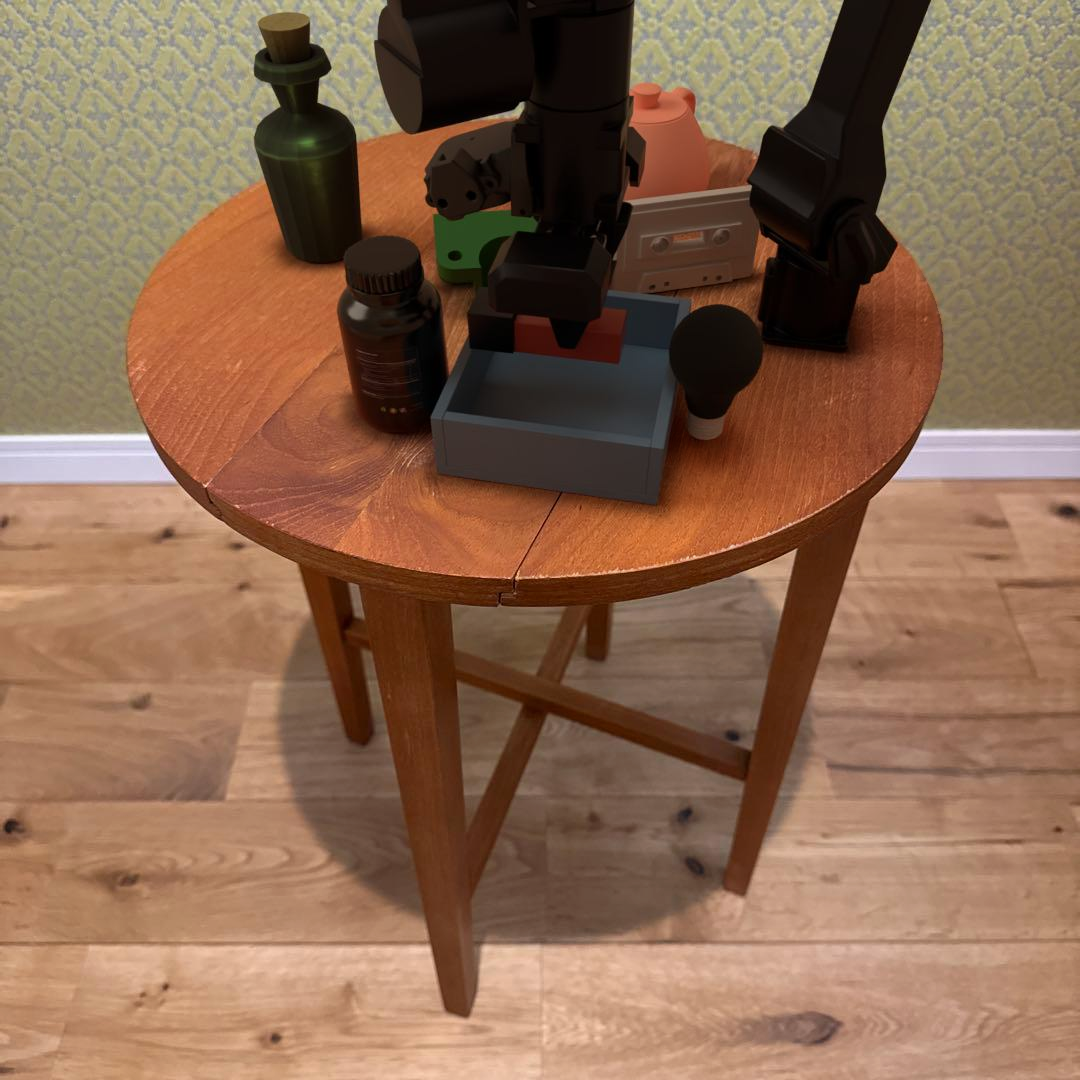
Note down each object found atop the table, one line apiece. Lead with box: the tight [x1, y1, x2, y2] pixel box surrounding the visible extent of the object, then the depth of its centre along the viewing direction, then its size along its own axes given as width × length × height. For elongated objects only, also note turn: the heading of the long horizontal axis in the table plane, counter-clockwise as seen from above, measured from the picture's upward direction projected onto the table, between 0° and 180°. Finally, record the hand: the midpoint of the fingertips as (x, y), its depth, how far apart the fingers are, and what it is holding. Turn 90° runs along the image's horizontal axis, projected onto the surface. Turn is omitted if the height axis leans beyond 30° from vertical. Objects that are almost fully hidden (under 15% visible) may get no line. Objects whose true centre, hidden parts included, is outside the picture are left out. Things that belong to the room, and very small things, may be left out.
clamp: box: [432, 209, 538, 296], centre depth 77 cm, size 12×6×9 cm, turn 90°
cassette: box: [610, 184, 760, 294], centre depth 77 cm, size 12×2×8 cm, turn 104°
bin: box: [430, 289, 693, 506], centre depth 67 cm, size 15×17×5 cm
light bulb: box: [669, 303, 764, 441], centre depth 63 cm, size 6×6×10 cm
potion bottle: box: [253, 11, 363, 264], centre depth 77 cm, size 8×8×18 cm
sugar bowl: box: [623, 81, 711, 201], centre depth 86 cm, size 12×14×10 cm
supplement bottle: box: [336, 234, 450, 434], centre depth 64 cm, size 7×7×12 cm
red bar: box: [466, 287, 627, 364], centre depth 64 cm, size 10×3×3 cm, turn 78°
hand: (571, 333), depth 64 cm, fingers closed on red bar, 3 cm apart
